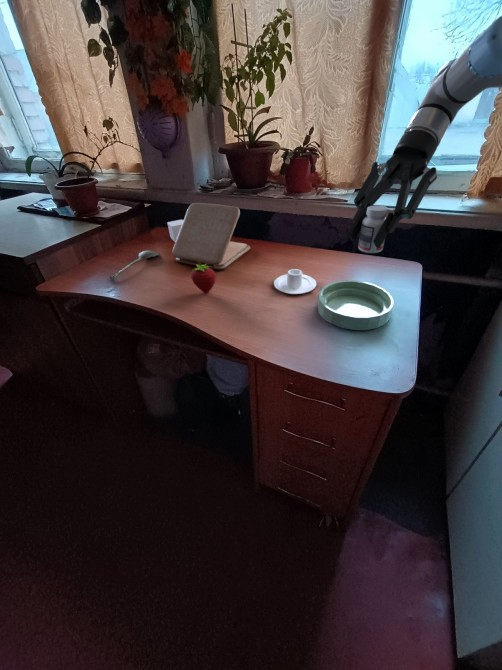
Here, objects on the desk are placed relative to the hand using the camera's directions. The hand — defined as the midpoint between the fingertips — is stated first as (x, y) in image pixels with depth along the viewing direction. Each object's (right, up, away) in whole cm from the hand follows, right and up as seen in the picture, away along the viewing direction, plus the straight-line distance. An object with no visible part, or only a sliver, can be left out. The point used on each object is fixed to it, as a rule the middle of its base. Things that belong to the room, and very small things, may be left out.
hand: (363, 241), depth 66 cm
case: (-37, +8, +43) cm, 57 cm away
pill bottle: (+3, -1, +4) cm, 5 cm away
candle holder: (-11, -6, +23) cm, 26 cm away
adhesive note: (-52, +19, +58) cm, 81 cm away
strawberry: (-37, -8, +22) cm, 44 cm away
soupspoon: (-63, +3, +39) cm, 74 cm away
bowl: (+1, -14, +11) cm, 18 cm away
